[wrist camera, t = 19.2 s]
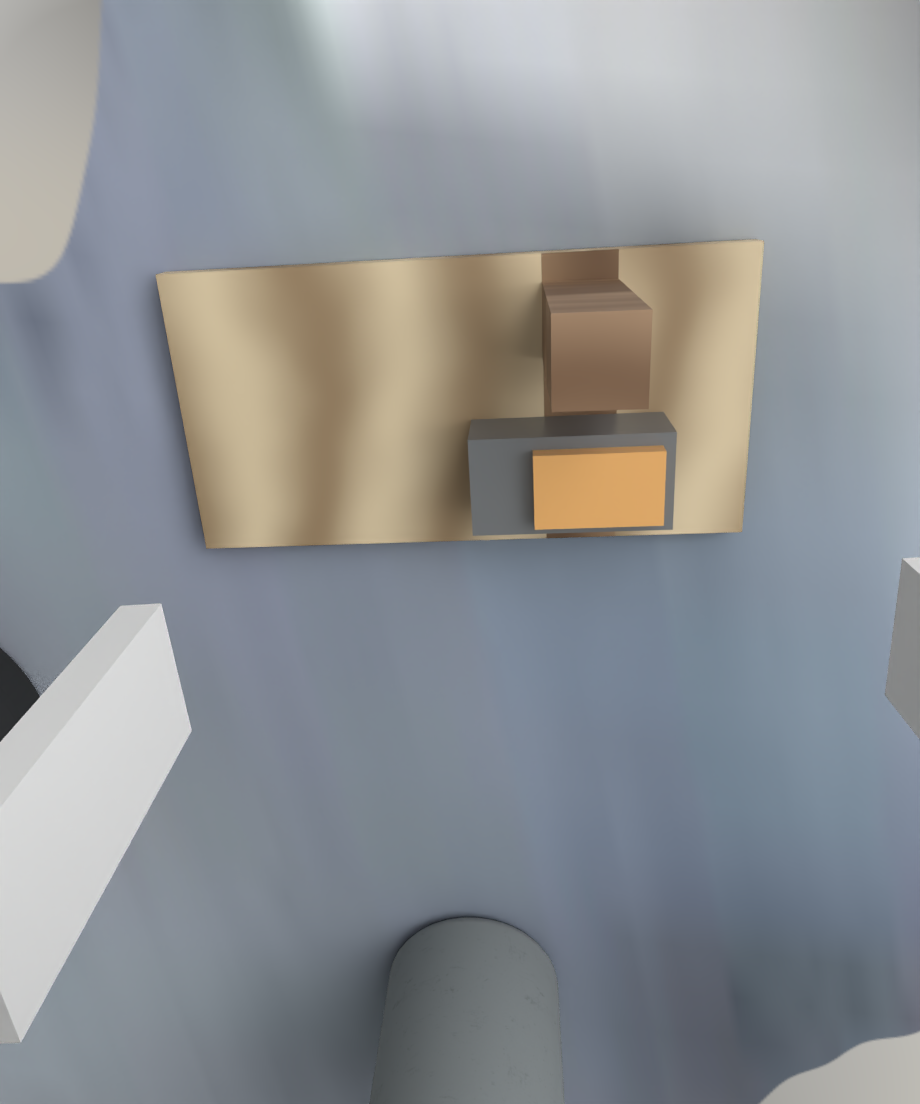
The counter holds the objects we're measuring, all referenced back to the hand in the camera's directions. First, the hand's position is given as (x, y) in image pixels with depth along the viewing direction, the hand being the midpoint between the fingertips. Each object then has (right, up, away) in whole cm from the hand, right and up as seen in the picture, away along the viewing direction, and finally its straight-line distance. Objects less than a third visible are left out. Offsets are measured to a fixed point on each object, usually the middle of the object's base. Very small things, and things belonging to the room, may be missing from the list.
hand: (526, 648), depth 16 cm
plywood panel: (-1, +8, +22) cm, 23 cm away
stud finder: (+3, +6, +21) cm, 22 cm away
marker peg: (+4, +11, +19) cm, 22 cm away
